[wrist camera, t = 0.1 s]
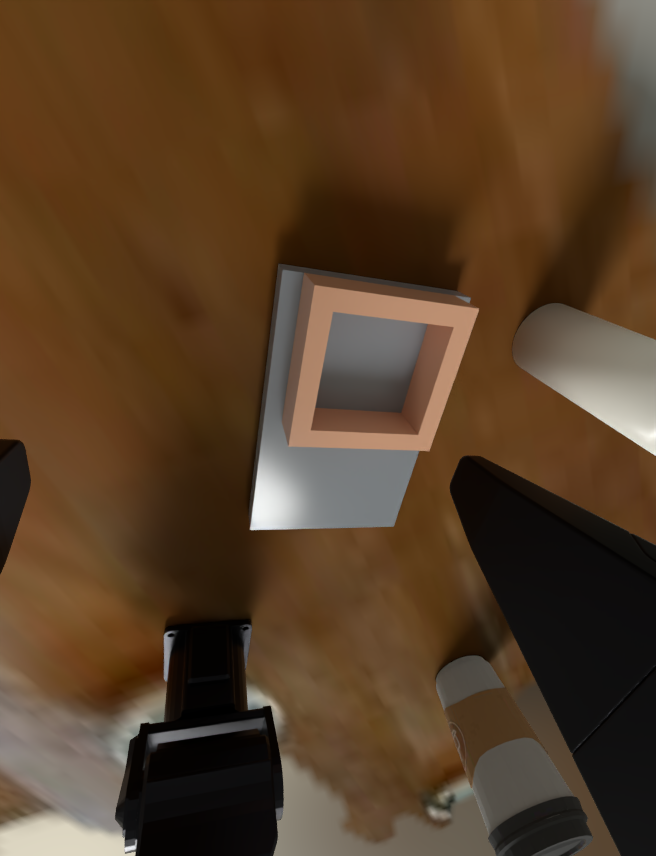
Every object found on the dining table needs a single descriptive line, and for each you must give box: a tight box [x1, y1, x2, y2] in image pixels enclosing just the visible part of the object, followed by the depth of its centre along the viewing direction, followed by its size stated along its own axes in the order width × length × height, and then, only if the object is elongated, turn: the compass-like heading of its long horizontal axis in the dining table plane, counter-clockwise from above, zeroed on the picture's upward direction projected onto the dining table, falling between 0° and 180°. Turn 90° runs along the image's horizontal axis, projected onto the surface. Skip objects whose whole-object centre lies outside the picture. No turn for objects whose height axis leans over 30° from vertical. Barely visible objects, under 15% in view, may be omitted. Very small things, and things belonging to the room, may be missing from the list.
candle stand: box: [248, 264, 479, 530], centre depth 24 cm, size 16×10×4 cm, turn 169°
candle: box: [512, 303, 656, 456], centre depth 22 cm, size 4×4×10 cm
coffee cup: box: [436, 655, 593, 856], centre depth 40 cm, size 8×8×15 cm
